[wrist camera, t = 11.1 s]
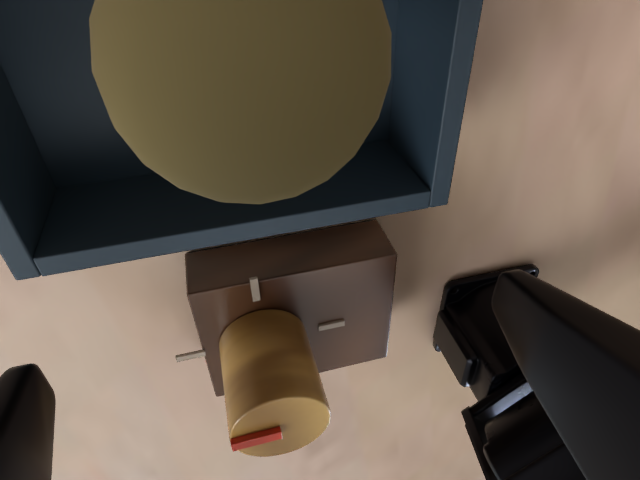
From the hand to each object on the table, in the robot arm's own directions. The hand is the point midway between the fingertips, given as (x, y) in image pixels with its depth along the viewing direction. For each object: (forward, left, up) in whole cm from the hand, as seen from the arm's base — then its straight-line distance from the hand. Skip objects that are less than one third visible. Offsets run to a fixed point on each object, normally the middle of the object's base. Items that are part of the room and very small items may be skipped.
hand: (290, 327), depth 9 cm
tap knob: (0, +12, -10) cm, 15 cm away
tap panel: (-2, +12, -13) cm, 17 cm away
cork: (0, -4, -12) cm, 13 cm away
